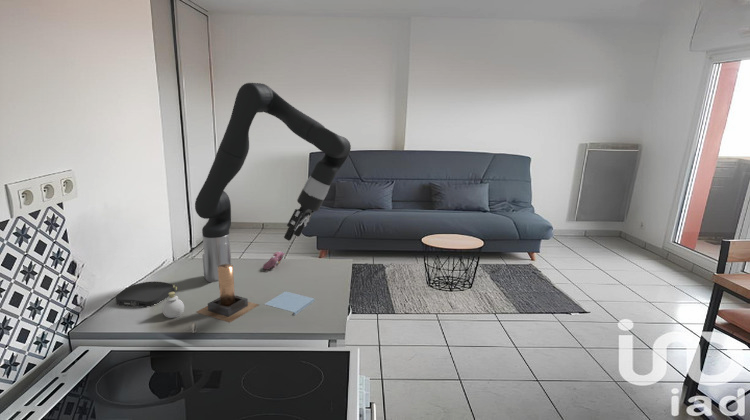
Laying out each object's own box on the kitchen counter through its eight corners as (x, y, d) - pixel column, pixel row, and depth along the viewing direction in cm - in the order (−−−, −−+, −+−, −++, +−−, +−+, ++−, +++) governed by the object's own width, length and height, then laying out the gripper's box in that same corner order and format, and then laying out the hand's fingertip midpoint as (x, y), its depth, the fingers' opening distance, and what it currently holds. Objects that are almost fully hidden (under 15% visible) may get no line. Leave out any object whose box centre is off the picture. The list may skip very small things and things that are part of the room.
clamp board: (196, 314, 134) (195, 304, 133) (227, 298, 146) (226, 289, 145) (230, 325, 128) (229, 314, 127) (259, 307, 140) (259, 297, 139)
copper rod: (217, 309, 136) (214, 267, 132) (228, 304, 140) (225, 263, 136) (228, 312, 134) (225, 270, 130) (238, 306, 138) (235, 265, 134)
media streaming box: (178, 290, 152) (177, 282, 152) (153, 309, 138) (151, 300, 138) (140, 287, 154) (139, 279, 153) (110, 305, 140) (109, 297, 139)
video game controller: (271, 274, 171) (278, 259, 169) (261, 268, 171) (268, 254, 169) (281, 265, 180) (288, 251, 178) (272, 259, 180) (278, 246, 178)
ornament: (160, 322, 130) (156, 291, 127) (170, 310, 137) (166, 281, 134) (180, 322, 130) (177, 291, 127) (189, 310, 137) (186, 281, 135)
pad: (264, 307, 140) (264, 304, 140) (285, 294, 150) (285, 291, 149) (294, 315, 135) (294, 312, 135) (314, 301, 145) (314, 298, 144)
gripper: (310, 186, 145) (289, 228, 147) (296, 188, 131) (273, 234, 133) (330, 197, 144) (308, 239, 147) (317, 200, 130) (293, 246, 133)
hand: (291, 237), depth 140 cm, fingers open, 8 cm apart
